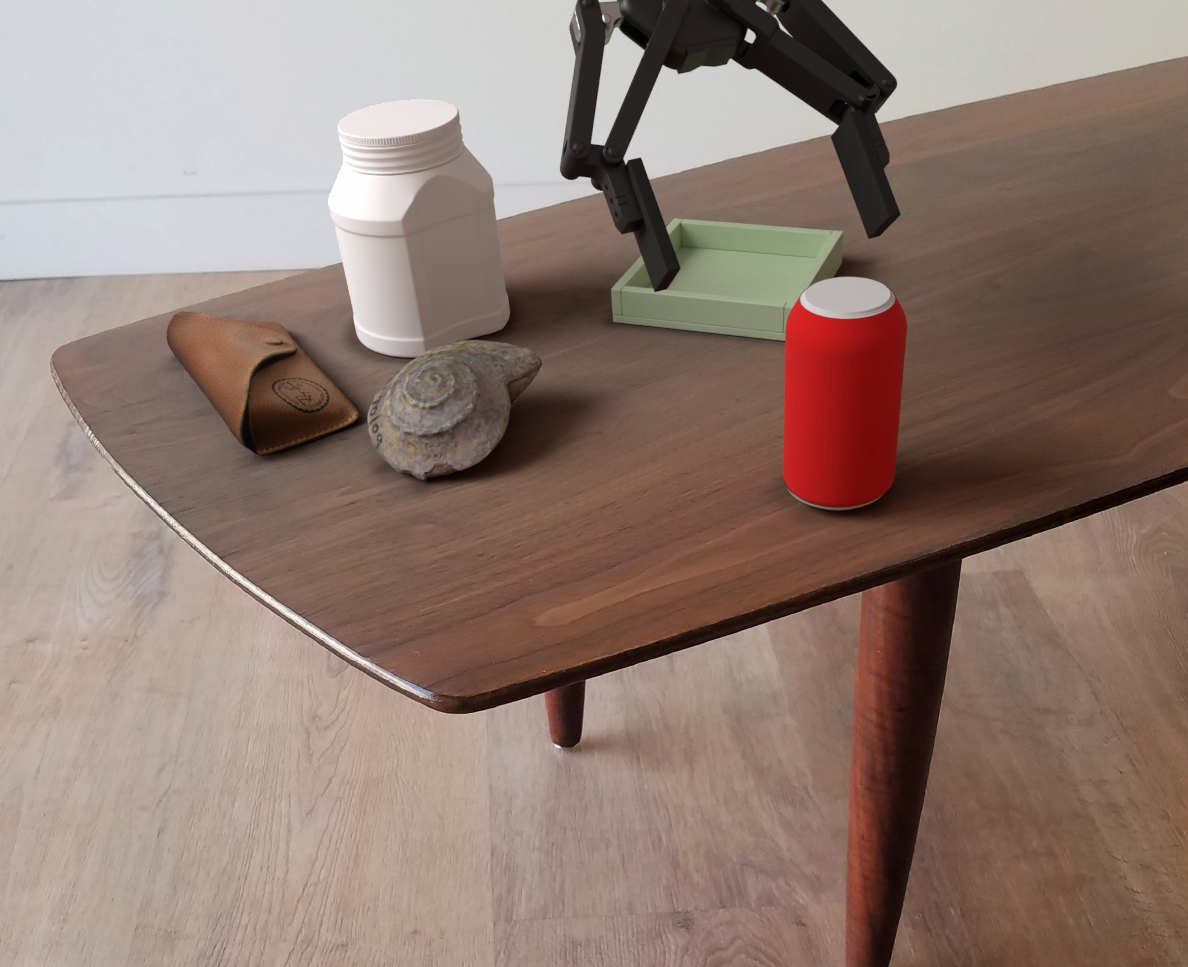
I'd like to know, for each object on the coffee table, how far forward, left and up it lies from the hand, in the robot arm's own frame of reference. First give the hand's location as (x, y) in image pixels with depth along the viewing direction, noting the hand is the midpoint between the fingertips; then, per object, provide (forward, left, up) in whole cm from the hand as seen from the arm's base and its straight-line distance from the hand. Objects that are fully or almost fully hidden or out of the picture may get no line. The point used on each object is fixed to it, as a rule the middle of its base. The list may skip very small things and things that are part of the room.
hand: (779, 254), depth 68 cm
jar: (+29, -9, -12) cm, 33 cm away
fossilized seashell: (+19, +5, -12) cm, 23 cm away
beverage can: (-5, +5, -12) cm, 14 cm away
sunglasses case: (+36, +3, -12) cm, 38 cm away
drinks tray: (+9, -19, -12) cm, 24 cm away
